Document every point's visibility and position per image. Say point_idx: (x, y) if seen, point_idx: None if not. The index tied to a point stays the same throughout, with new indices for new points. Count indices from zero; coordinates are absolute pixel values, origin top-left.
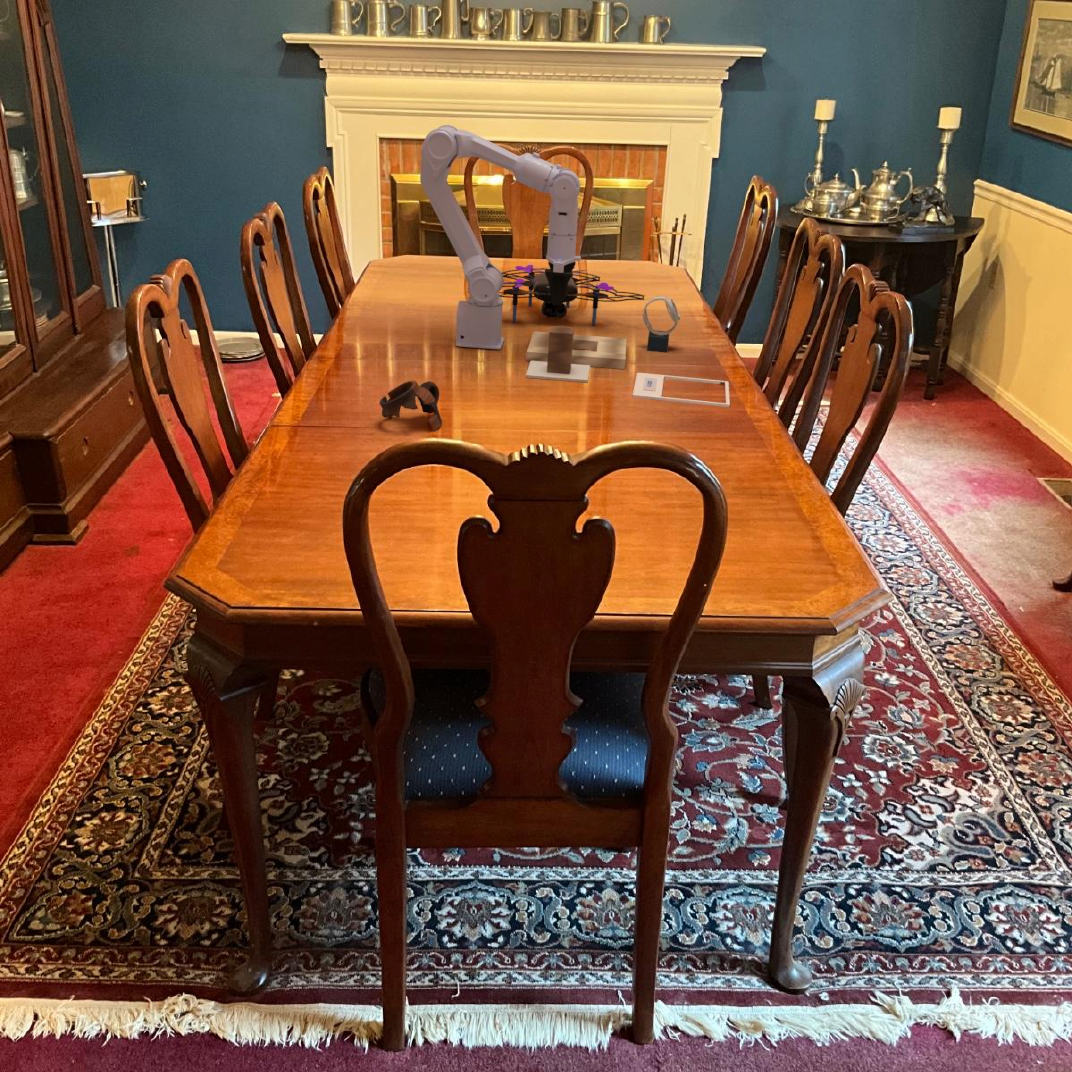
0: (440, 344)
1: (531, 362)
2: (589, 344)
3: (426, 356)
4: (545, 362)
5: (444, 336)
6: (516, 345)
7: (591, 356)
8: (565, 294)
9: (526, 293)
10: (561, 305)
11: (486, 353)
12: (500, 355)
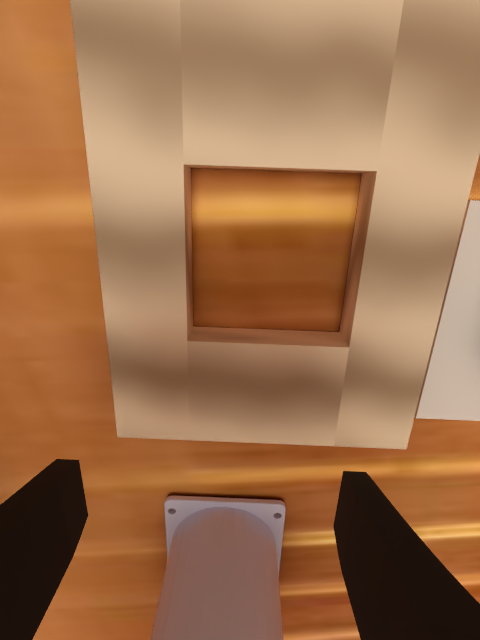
0: None
1: (439, 415)
2: (186, 207)
3: None
4: (436, 372)
5: None
6: (209, 459)
7: (462, 197)
8: (66, 471)
9: None
10: (369, 477)
11: (320, 526)
12: (335, 493)
